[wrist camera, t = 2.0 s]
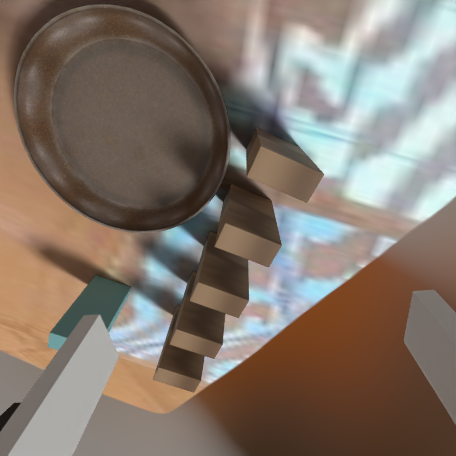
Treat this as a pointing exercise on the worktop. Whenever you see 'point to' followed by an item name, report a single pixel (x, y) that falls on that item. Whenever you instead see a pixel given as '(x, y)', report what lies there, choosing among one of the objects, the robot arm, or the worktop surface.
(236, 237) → the domino
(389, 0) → the worktop surface
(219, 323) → the domino
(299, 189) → the domino
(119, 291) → the domino
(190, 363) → the domino
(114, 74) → the plant saucer
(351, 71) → the worktop surface
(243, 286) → the domino
